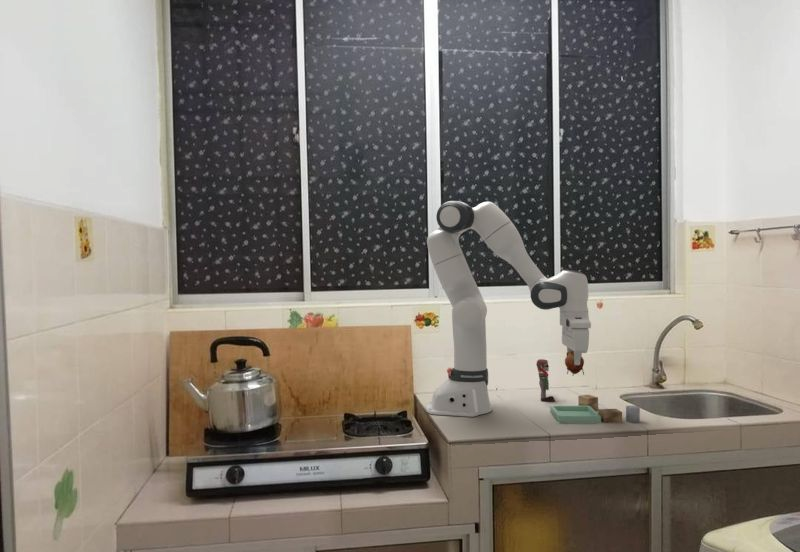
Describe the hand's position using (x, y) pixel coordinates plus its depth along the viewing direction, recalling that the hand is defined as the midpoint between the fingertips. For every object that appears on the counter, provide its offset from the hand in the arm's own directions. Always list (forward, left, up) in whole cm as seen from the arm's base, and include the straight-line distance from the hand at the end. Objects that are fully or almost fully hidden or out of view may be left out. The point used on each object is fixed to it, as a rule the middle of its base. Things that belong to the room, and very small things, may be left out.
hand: (574, 362), depth 175 cm
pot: (0, 0, -4) cm, 4 cm away
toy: (-5, +22, -18) cm, 29 cm away
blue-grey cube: (+17, -4, -18) cm, 25 cm away
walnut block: (+10, -4, -18) cm, 21 cm away
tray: (0, 0, -18) cm, 18 cm away
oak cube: (+7, +10, -18) cm, 22 cm away
